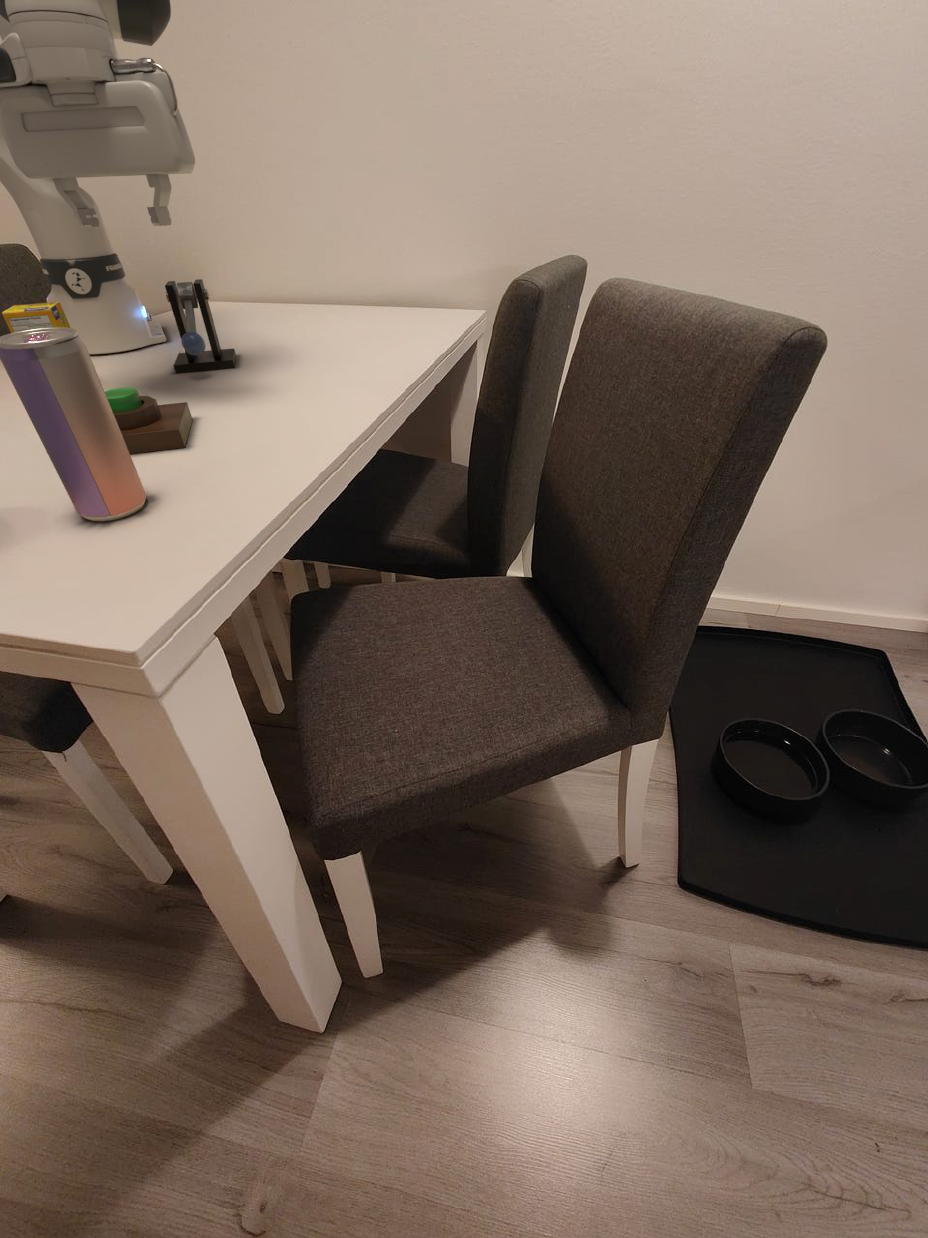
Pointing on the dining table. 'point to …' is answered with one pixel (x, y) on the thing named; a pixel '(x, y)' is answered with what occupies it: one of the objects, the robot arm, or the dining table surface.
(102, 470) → the beverage can
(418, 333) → the dining table surface
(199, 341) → the switch lever
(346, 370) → the dining table surface
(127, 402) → the light button
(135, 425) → the button block
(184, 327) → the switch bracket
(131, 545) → the dining table surface
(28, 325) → the supplement box
